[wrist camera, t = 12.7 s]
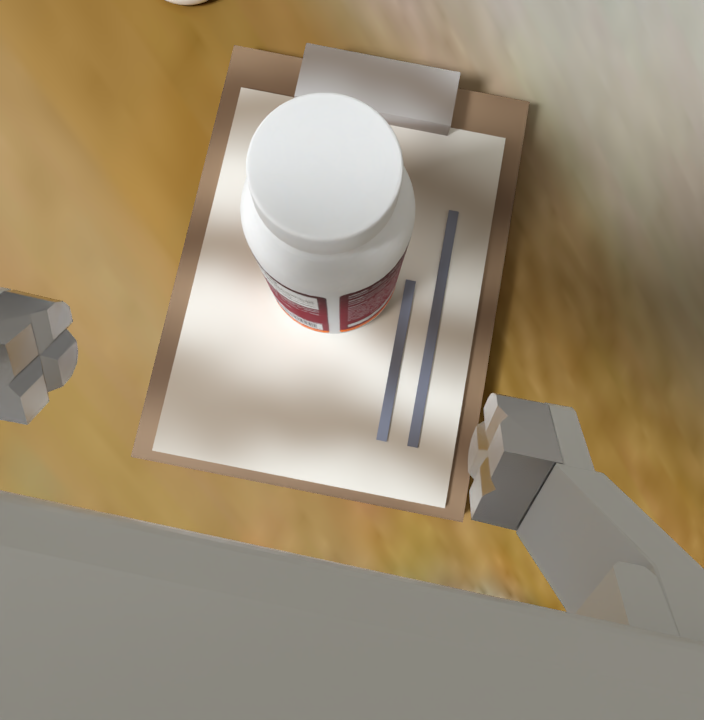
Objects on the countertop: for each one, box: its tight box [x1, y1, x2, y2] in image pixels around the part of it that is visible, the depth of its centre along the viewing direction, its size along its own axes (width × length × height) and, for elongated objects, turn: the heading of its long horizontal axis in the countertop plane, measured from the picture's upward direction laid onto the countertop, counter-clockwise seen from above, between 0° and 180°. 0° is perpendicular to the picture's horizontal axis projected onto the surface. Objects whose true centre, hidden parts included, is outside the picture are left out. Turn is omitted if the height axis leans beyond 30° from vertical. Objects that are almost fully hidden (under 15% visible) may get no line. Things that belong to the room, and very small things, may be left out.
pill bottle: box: [240, 92, 415, 334], centre depth 21 cm, size 6×6×11 cm
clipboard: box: [131, 43, 529, 522], centre depth 27 cm, size 22×16×2 cm
